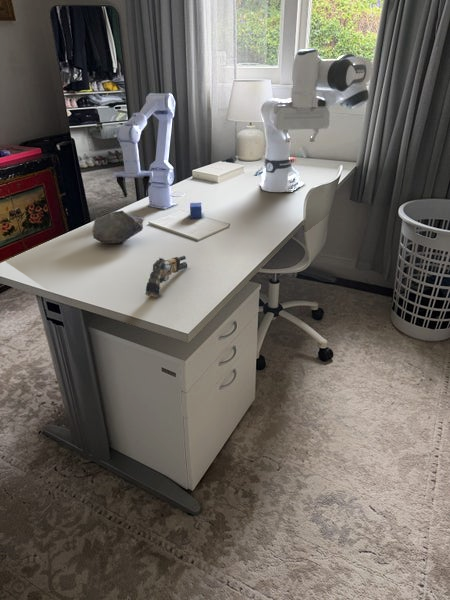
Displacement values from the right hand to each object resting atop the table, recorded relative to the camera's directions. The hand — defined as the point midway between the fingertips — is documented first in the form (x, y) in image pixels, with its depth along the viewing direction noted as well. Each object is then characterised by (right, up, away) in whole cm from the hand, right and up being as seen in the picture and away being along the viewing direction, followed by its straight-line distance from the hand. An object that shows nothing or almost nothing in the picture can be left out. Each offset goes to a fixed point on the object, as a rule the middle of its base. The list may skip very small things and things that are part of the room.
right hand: (299, 142), depth 158 cm
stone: (-65, -39, -9) cm, 76 cm away
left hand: (-63, -19, +6) cm, 66 cm away
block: (-40, -25, +13) cm, 49 cm away
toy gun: (-44, -54, -36) cm, 79 cm away
